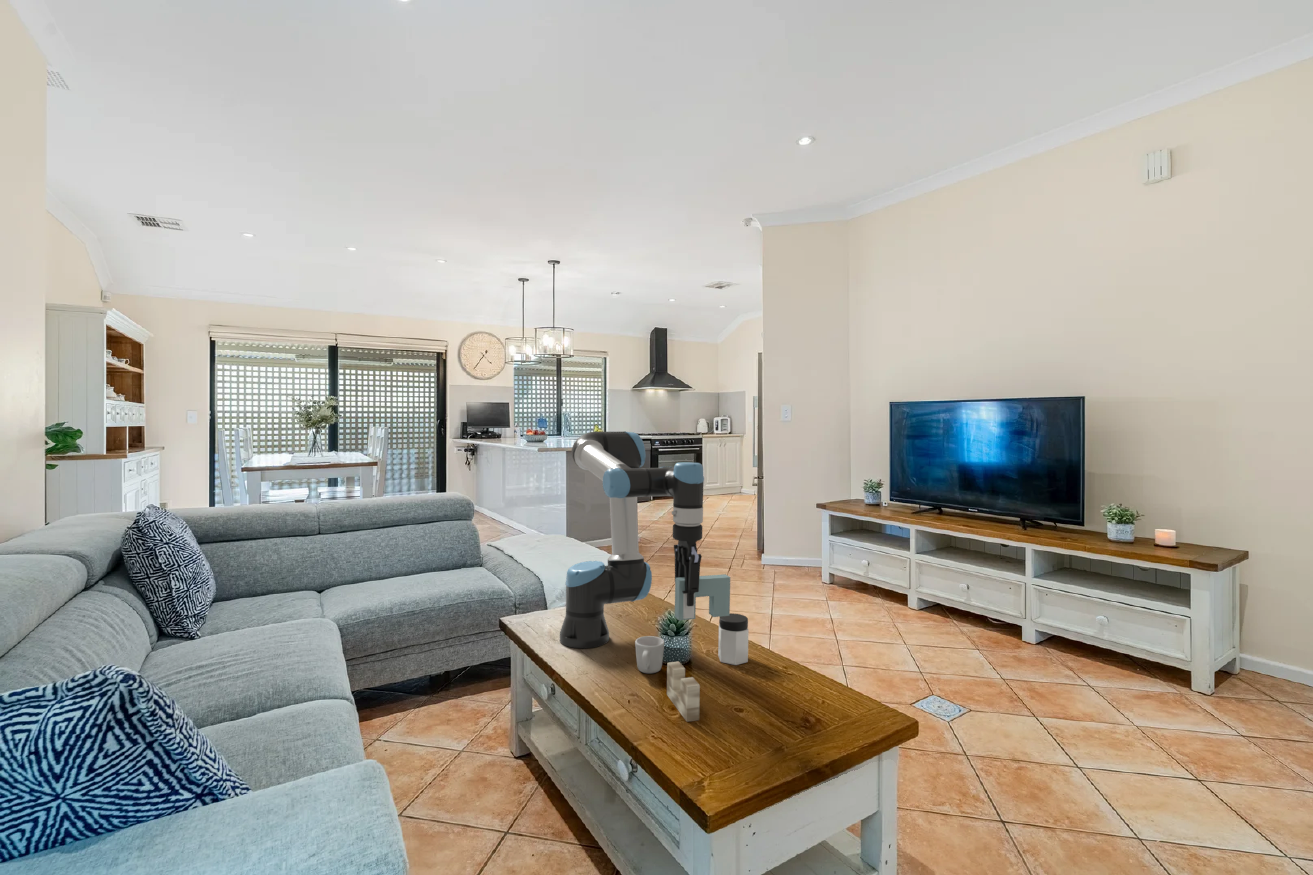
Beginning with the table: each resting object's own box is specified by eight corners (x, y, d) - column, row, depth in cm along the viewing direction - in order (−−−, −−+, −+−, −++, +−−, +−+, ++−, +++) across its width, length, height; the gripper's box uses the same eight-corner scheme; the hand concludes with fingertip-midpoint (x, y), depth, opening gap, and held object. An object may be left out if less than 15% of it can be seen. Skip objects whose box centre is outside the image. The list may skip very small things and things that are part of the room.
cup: (658, 682, 156) (659, 651, 156) (629, 678, 157) (629, 648, 157) (666, 665, 166) (666, 637, 166) (638, 662, 168) (638, 634, 168)
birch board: (666, 694, 149) (667, 662, 148) (678, 692, 150) (678, 661, 149) (686, 721, 135) (687, 686, 135) (699, 719, 136) (699, 685, 136)
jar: (716, 653, 176) (717, 612, 176) (744, 653, 176) (744, 612, 176) (720, 665, 167) (721, 622, 167) (749, 665, 167) (750, 623, 167)
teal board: (674, 616, 153) (675, 577, 153) (724, 612, 157) (725, 574, 157) (678, 620, 150) (679, 580, 150) (729, 615, 154) (730, 577, 154)
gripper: (663, 519, 158) (661, 607, 159) (685, 529, 143) (683, 627, 143) (689, 518, 160) (688, 604, 161) (714, 528, 145) (712, 624, 146)
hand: (685, 615), depth 152 cm, fingers closed on teal board, 3 cm apart
